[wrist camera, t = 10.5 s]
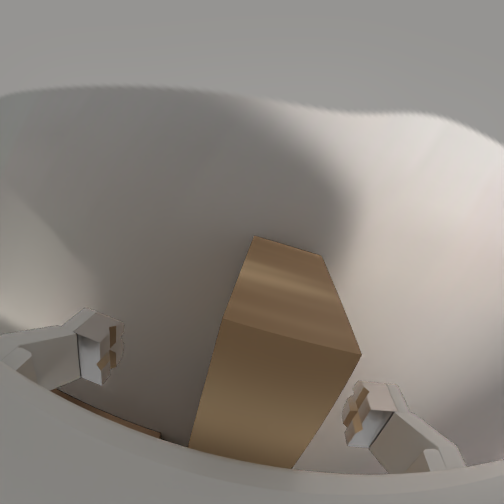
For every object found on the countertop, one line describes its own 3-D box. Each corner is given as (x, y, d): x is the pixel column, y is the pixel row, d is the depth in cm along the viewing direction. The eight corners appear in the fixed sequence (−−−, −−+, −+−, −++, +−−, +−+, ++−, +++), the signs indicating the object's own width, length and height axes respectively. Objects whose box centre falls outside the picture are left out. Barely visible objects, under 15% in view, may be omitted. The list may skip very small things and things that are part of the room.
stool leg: (221, 492, 15) (205, 568, 9) (181, 482, 15) (157, 556, 9) (324, 256, 11) (366, 356, 5) (251, 234, 11) (216, 315, 5)
